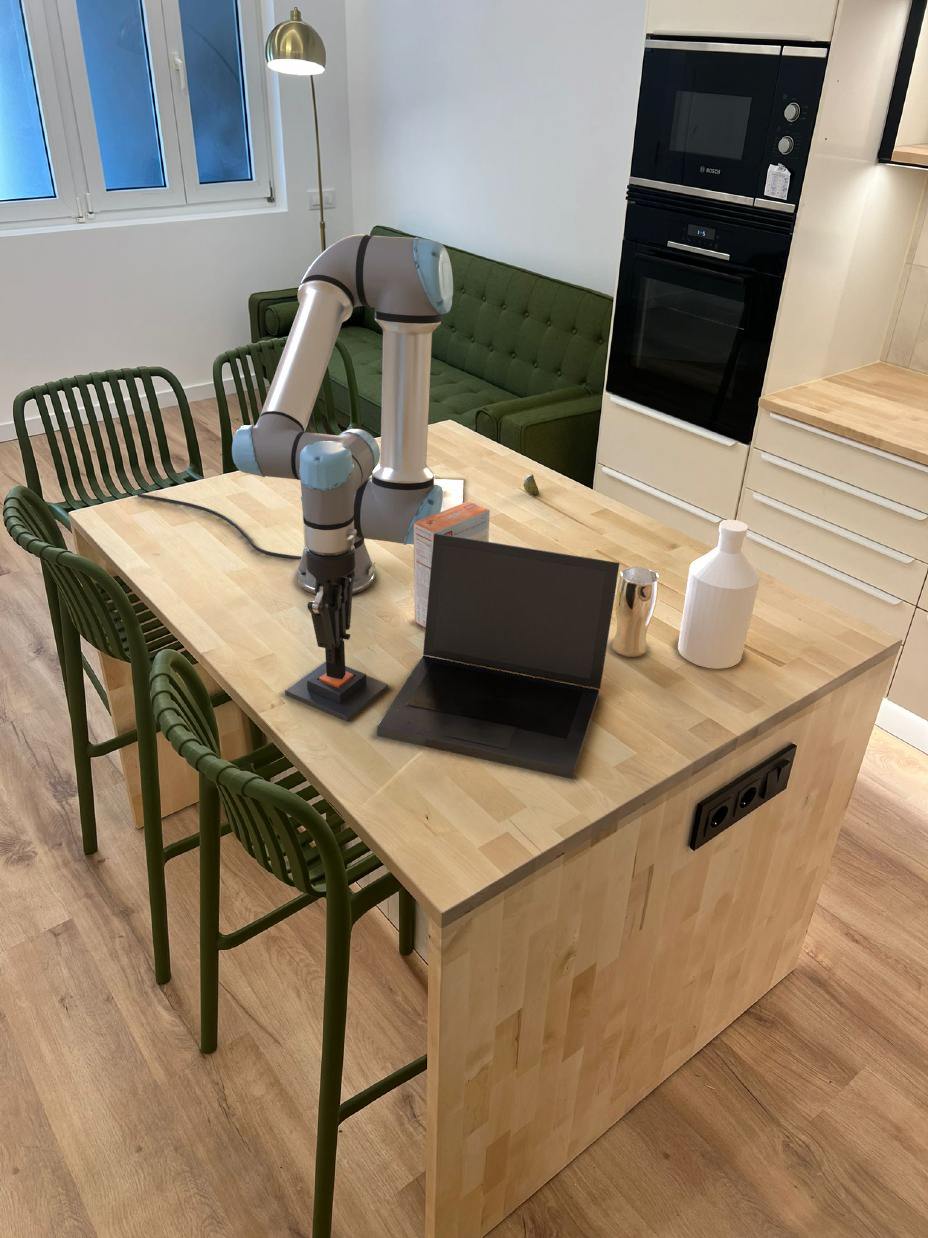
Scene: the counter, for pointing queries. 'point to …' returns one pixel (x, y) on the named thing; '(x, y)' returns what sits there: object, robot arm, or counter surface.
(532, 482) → the lime
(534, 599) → the laptop screen
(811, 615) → the counter surface
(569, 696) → the laptop
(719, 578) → the bottle
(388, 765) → the counter surface
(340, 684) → the key
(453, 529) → the cracker box
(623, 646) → the beer glass
